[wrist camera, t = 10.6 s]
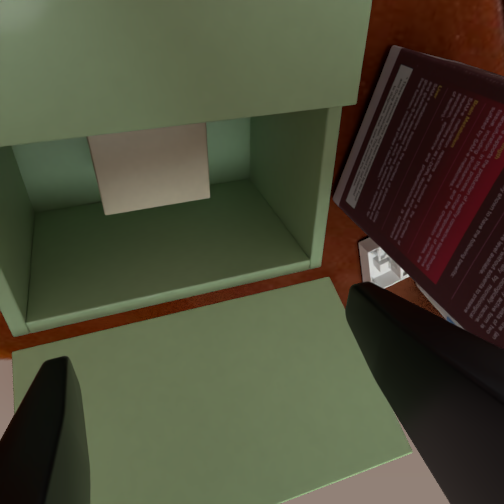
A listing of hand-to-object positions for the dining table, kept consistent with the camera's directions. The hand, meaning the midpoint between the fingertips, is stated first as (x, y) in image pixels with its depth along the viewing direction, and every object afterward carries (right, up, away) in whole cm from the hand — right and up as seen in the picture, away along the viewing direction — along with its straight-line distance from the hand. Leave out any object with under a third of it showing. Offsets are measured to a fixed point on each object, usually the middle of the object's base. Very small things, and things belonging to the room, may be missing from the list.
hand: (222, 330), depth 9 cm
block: (-4, +7, +9) cm, 12 cm away
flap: (-1, -3, +4) cm, 5 cm away
